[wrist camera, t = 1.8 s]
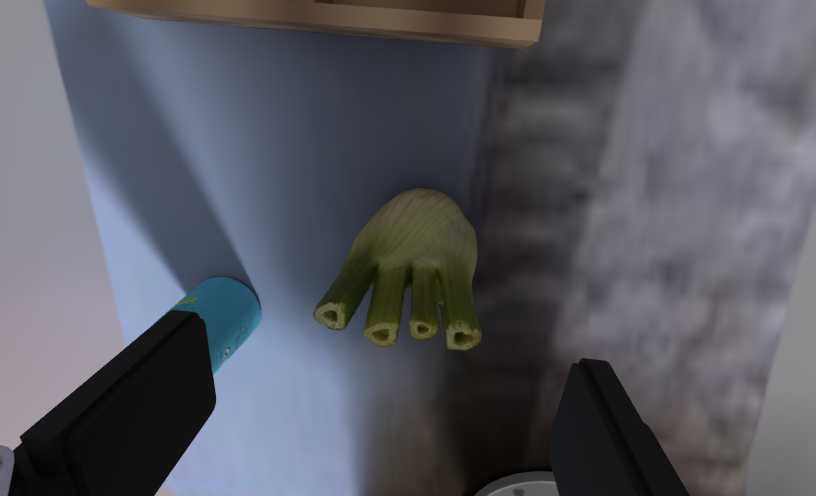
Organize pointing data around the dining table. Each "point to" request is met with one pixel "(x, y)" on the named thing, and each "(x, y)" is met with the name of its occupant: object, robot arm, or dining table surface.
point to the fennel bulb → (410, 272)
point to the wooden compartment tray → (361, 17)
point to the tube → (223, 315)
